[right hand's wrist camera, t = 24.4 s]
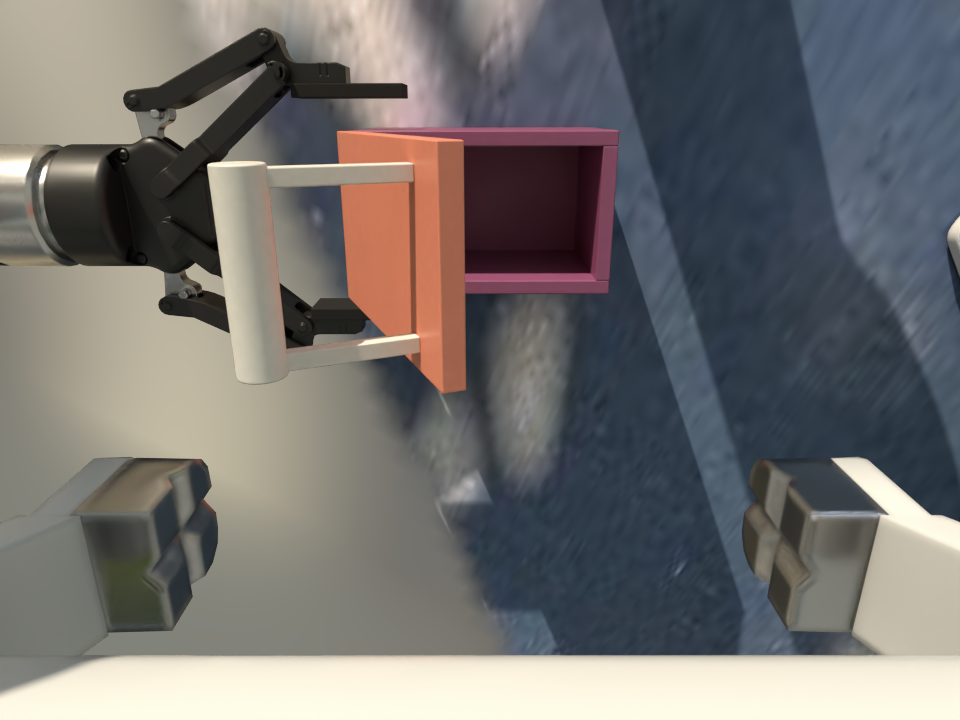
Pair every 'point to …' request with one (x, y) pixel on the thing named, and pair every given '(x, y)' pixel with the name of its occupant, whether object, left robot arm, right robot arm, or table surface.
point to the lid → (354, 255)
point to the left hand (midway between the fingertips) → (410, 206)
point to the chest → (535, 207)
